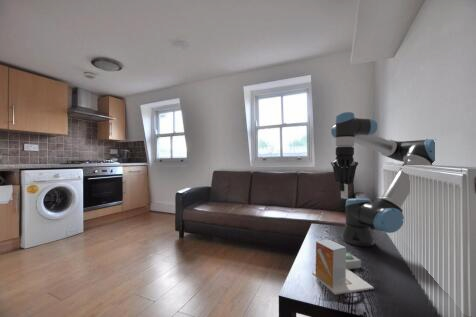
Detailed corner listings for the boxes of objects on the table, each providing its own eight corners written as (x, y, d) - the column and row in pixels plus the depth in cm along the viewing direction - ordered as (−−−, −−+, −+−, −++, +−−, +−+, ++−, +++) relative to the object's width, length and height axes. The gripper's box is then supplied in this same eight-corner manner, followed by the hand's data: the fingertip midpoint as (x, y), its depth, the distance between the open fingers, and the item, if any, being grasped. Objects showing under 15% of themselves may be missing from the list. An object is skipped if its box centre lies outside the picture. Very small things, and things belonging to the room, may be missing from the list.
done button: (347, 258, 90) (347, 253, 90) (353, 261, 87) (353, 256, 87) (341, 258, 90) (341, 253, 90) (346, 262, 86) (346, 257, 86)
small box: (315, 276, 78) (315, 241, 78) (328, 273, 80) (328, 238, 80) (332, 289, 70) (333, 249, 70) (346, 284, 73) (346, 247, 73)
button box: (348, 259, 92) (348, 252, 92) (360, 267, 86) (360, 260, 86) (334, 261, 91) (334, 254, 91) (346, 269, 84) (346, 261, 84)
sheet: (346, 269, 84) (346, 267, 84) (373, 289, 71) (373, 287, 71) (312, 273, 81) (312, 271, 81) (334, 294, 68) (334, 292, 68)
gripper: (350, 147, 101) (350, 196, 101) (326, 146, 99) (326, 197, 98) (363, 146, 94) (362, 199, 94) (337, 145, 91) (337, 200, 91)
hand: (344, 198), depth 96 cm, fingers closed
